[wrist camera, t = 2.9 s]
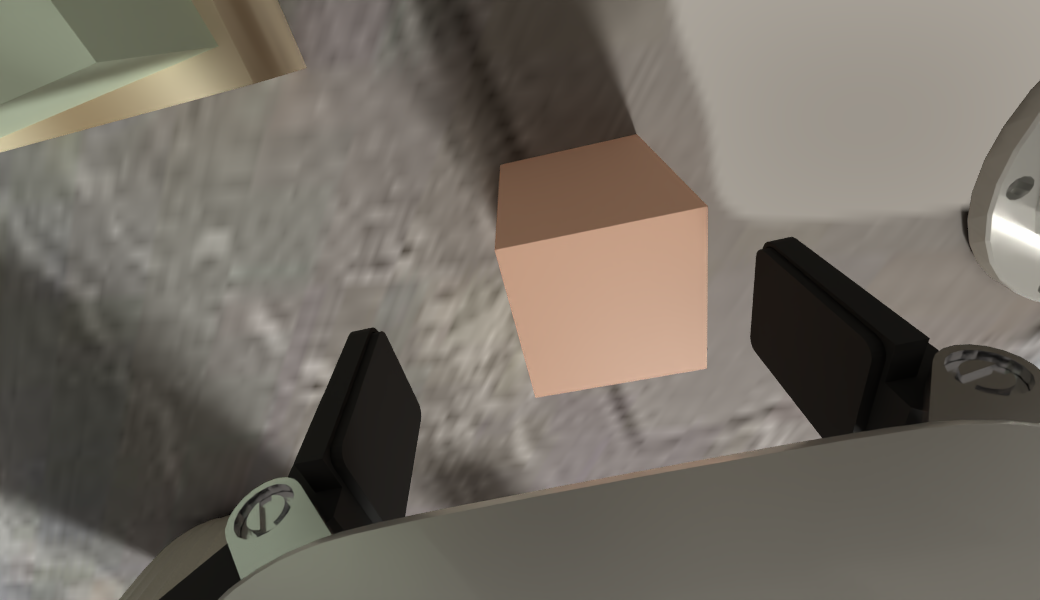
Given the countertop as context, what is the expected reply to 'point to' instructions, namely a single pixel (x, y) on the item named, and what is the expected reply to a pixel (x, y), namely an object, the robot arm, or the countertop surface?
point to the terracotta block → (603, 266)
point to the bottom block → (189, 70)
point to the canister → (178, 560)
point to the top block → (87, 51)
